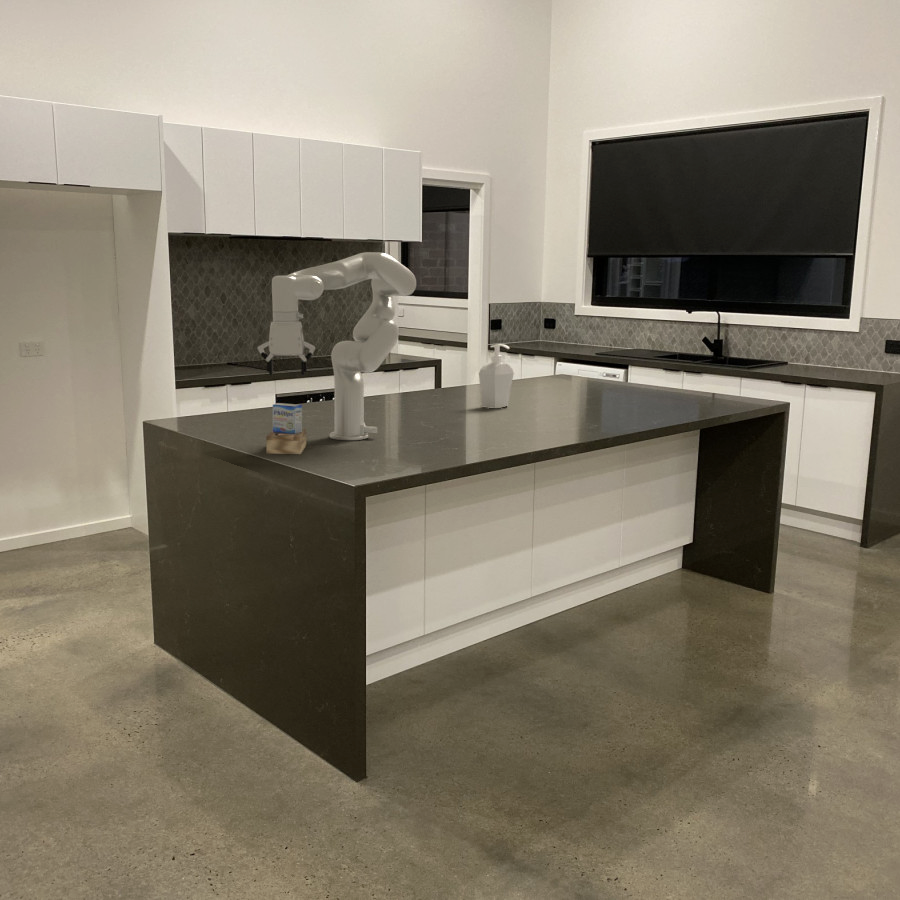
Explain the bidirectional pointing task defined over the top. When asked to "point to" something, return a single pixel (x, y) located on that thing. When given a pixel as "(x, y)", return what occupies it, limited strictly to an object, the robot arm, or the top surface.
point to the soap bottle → (496, 380)
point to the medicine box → (287, 418)
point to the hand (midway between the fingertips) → (287, 374)
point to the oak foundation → (286, 443)
